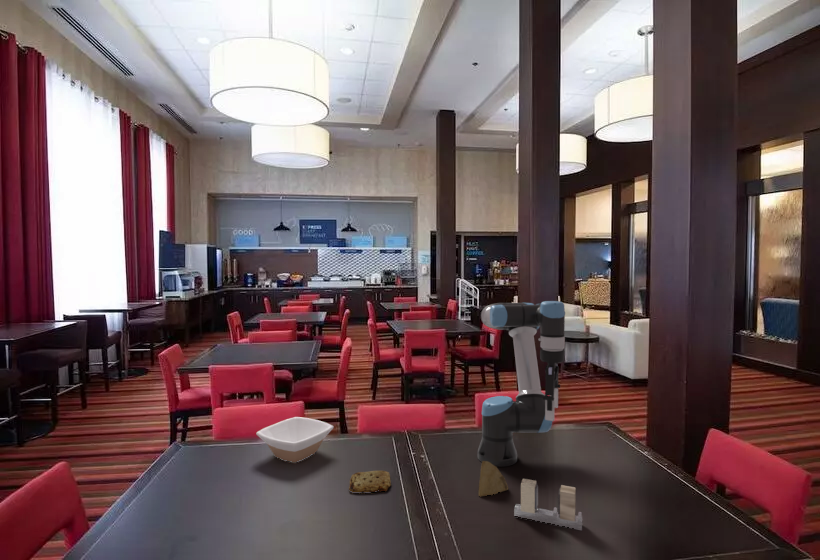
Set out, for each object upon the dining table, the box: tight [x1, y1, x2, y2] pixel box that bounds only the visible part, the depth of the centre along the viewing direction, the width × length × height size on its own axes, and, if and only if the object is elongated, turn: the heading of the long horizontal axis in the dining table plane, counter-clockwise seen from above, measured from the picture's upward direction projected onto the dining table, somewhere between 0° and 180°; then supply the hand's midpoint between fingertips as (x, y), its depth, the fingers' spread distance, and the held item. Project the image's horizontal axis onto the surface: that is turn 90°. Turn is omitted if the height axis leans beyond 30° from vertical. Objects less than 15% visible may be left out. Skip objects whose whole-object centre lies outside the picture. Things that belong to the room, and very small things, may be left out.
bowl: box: [256, 416, 334, 462], centre depth 182 cm, size 24×25×11 cm
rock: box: [477, 461, 509, 498], centre depth 152 cm, size 11×9×10 cm
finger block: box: [557, 484, 577, 521], centre depth 133 cm, size 4×4×8 cm
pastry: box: [348, 470, 392, 492], centre depth 159 cm, size 17×17×3 cm
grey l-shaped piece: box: [513, 478, 583, 531], centre depth 135 cm, size 19×4×10 cm, turn 68°
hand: (551, 413), depth 150 cm, fingers open, 13 cm apart
